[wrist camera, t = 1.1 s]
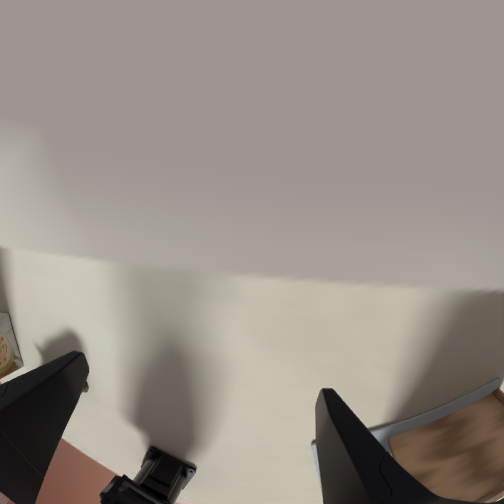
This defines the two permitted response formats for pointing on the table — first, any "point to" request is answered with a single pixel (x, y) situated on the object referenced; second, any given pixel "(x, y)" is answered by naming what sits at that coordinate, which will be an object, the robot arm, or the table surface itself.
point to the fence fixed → (458, 452)
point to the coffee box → (8, 348)
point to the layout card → (424, 417)
